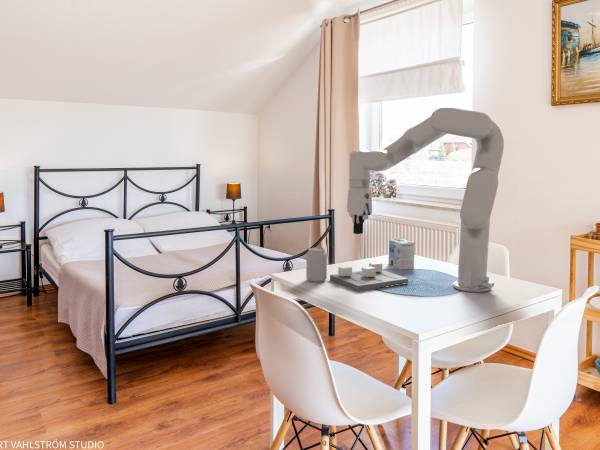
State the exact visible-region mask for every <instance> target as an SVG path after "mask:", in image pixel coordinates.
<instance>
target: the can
mask: <svg viewBox="0 0 600 450" xmlns="http://www.w3.org/2000/svg"><path fill="white" fill-rule="evenodd" d="M327 260H328V253H327V251H326V249H325V248H323V247H309V248H308V249H307V252H306V274H305V275H306V276H305V278H306V279H307V280H308V282H311V283H323V282H325V281H326V280H327V279H328V278H327V277H328V276H327V275H328V273H327V268H328V265H327V264H328V263H327V262H328V261H327Z"/></svg>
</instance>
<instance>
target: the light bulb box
mask: <svg viewBox="0 0 600 450" xmlns="http://www.w3.org/2000/svg"><path fill="white" fill-rule="evenodd" d="M388 243H389V245H388V265H390V266H392V267H394V268H396V269H398V270H408V269H414V268H415V249H416V248H415V246H416V243H415V241H410V240H407V239H404V238H394V239H393V238H392V239H391V238H390V239H389V241H388Z"/></svg>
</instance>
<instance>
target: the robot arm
mask: <svg viewBox="0 0 600 450" xmlns="http://www.w3.org/2000/svg"><path fill="white" fill-rule="evenodd" d="M447 134H448V135H453V136H458V137H465V138H469V139H470V138H471V139H474V140H475V142H476V151H475V155H474V160H473V165H472V169H471V172H470V173H469V176H468V177H467V182H466V185H465V190H464V195H463V200H462V203H461V207H460V211H459V217H460V218H459V219H460V230H459V231H460V232H459V250H458V251H459V252H458V269H457V270H458V271H457V280H455V281H453V283H452V287H453V288H454V289H457V290H458V291H463V292H470V293H483V292H484V293H485V292H488V291H491V289H492V288H493V287H494V286H495V282H493V281H492V282H491V281H490V277H489V276H487V273H488V255H489V245H490V244H489V243H490V242H489V239H490V225H491V215H492V211H493V208H494V204H495V199H496V196H497V192H498V191H497V190H498V187H499V186H498V185H499V173H500V168H501V164H502V158H503V153H504V146H505V144H504V143H505V141H504V136H503V133H502V131H501V129H500V127H499V126H498V125H497V124H496V123H495V122H494V120H492V119H491V117H490V116H489V115H488V114H487V113H484V112H480V111H475V110H467V109H461V108H456V107H450V106H439V107H437V108H435V109H434V110H433V111H432V112H431V114H430V115H429V116H427V117H425V118H423V119H422V120H421V121H419V122H417V123H416V124H414V125H412V126H411V127H409V128H408V129H406V131H404V133H403V134H402V135H401V136H400V137H399V138H397V140H396V141H394V142H392V143H390V144H389V145H388V146H386V147H385V148H382V149H379V150H378V149H377V150H371V151H368V150H351V152H350V153H349V165H348V166H349V167H348V168H349V170H348V176H349V177H348V194H347V201H346V211H347V213H348V216H349V217H350V218H351V219H352V223H353V230H352V231H353V234H354V235H361V234H364V223H365V221H366V220H369V216H371V215H372V214H373V202H372V201H373V200H372V192H371V191H372V190H371V188H370V179H371V178H370V177H371V174H370V173H371V171H373V172H384V171H388V170H390V169H391V168H393V167H395V166H396V165H398V164H400V163H401V162H403V161H404V160H406V159H408V158H409V157H410V156H413V155H415V154H416V153H418V152H420V151H421V150H422V149H425V148H426V147H428V146H429V145H431V144H432V143H434V142H436V141H437V140H439V139H441V138H443V137H444V136H446V135H447Z"/></svg>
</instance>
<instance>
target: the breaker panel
mask: <svg viewBox="0 0 600 450" xmlns="http://www.w3.org/2000/svg"><path fill="white" fill-rule="evenodd" d="M370 266H371V267H374V268H376V276H373V277H364V276H362V270H359V271H358V270H356V271H353V267H352V266H349V265H342V266H338V269H337V270H338V271H337V272H338V273H333V274H330V275H329V281H332V282H334V283H336V284H339V285H341V286H344V287H346V288H348V289H351V290H353V291H355V292H357V293H358V292H364V291H371V290H377V289H376V288H378V289H381V288H380V287H385V288H387V287H386V286H391V285H396V284H403V283H408V284H409V278H408V277H405V276H401V275H399V274H396V273H392V272H390V271H386V270H383V263H382V262H379V261H376V262H368V267H370ZM391 287H392V286H391Z"/></svg>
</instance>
